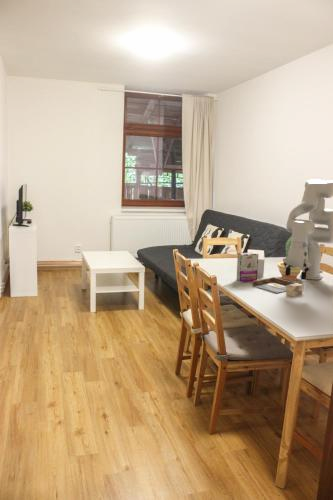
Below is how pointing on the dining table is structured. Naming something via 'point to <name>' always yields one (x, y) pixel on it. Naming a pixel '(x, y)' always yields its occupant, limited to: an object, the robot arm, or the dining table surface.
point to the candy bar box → (247, 267)
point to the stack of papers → (259, 261)
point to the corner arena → (272, 284)
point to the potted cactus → (294, 270)
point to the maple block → (294, 289)
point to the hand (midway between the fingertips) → (295, 277)
